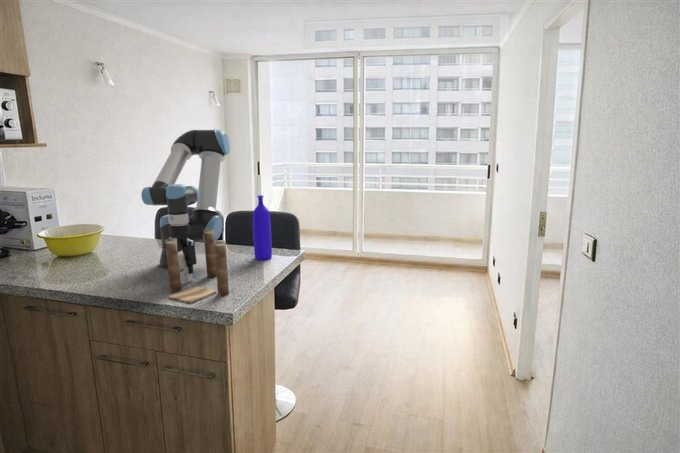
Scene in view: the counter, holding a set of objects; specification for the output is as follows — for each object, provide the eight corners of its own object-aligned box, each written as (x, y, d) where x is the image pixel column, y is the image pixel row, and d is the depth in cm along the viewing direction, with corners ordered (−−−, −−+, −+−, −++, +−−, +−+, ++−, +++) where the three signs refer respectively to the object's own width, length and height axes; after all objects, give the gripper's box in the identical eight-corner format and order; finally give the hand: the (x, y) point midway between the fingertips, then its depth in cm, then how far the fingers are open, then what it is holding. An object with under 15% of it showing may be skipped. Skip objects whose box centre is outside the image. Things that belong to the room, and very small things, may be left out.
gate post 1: (167, 291, 168) (162, 240, 164) (176, 287, 171) (171, 237, 167) (175, 293, 166) (170, 241, 162) (183, 289, 169) (179, 238, 165)
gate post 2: (204, 277, 184) (201, 230, 180) (212, 274, 188) (208, 228, 183) (212, 278, 182) (208, 231, 178) (219, 275, 186) (216, 229, 182)
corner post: (215, 294, 164) (211, 242, 159) (223, 291, 167) (219, 239, 163) (223, 296, 162) (219, 243, 157) (231, 293, 165) (228, 241, 161)
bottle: (255, 256, 215) (252, 194, 208) (272, 255, 215) (270, 194, 209) (253, 260, 207) (250, 197, 200) (271, 260, 207) (268, 196, 201)
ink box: (184, 277, 184) (181, 249, 182) (195, 277, 183) (192, 250, 181) (172, 284, 176) (169, 255, 174) (183, 284, 175) (181, 256, 172)
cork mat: (168, 298, 161) (167, 296, 161) (193, 288, 171) (193, 286, 171) (191, 303, 155) (191, 301, 155) (216, 293, 165) (216, 291, 165)
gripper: (154, 223, 176) (160, 279, 181) (188, 228, 167) (193, 286, 172) (170, 220, 182) (174, 273, 187) (203, 224, 173) (208, 280, 178)
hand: (183, 279), depth 179 cm, fingers closed on ink box, 6 cm apart
